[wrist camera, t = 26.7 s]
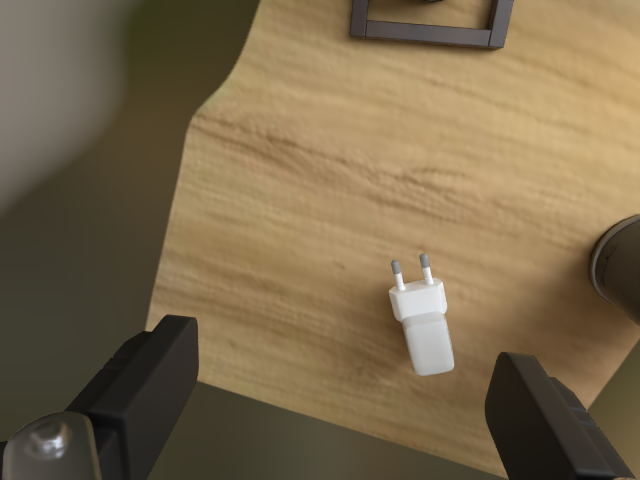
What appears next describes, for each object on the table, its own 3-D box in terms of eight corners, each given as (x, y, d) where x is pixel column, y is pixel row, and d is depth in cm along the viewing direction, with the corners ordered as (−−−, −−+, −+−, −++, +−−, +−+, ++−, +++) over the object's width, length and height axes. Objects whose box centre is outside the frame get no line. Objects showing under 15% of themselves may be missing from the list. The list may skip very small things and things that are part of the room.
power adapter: (378, 249, 40) (383, 275, 34) (429, 237, 39) (442, 262, 34) (402, 344, 43) (410, 382, 38) (449, 336, 43) (463, 372, 37)
